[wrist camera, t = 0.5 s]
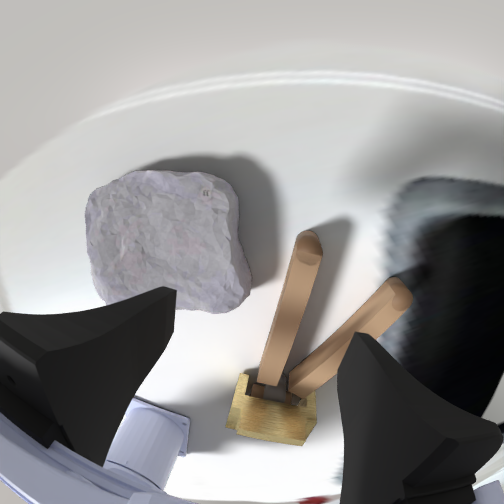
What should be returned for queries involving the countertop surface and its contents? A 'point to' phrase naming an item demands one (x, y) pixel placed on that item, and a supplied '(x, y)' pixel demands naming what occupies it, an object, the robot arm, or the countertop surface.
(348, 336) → the tong arm
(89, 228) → the stone block
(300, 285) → the tongs fixed
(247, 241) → the countertop surface
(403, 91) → the countertop surface
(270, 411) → the yellow block
